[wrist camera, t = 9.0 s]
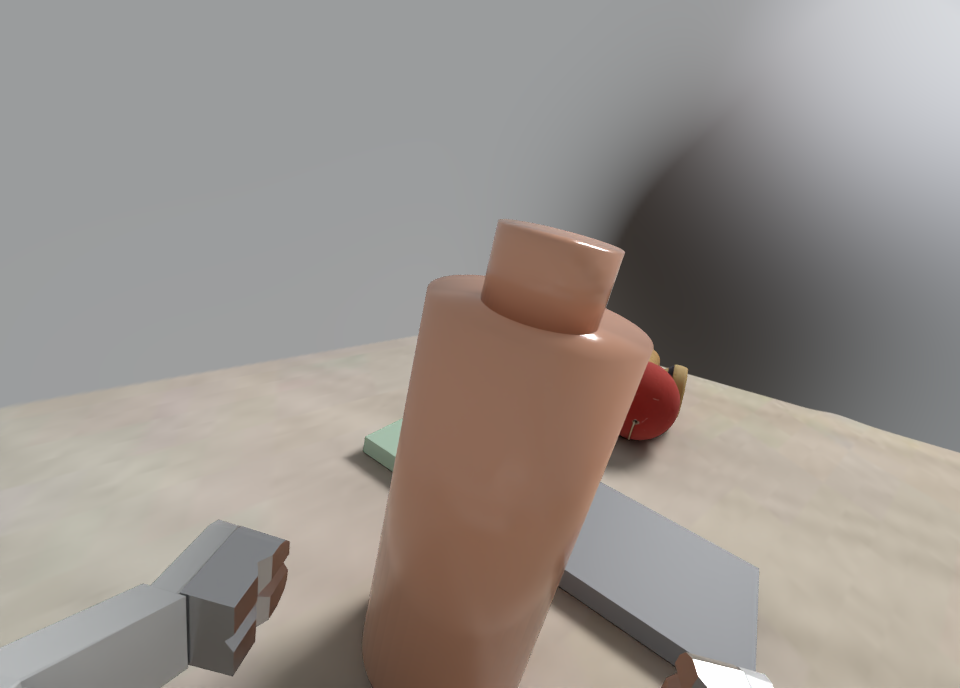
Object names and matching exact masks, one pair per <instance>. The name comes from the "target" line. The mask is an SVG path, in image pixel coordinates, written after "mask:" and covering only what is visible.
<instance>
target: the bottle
mask: <svg viewBox="0 0 960 688" xmlns="http://www.w3.org/2000/svg"><path fill="white" fill-rule="evenodd" d="M624 253H625V252H624V251H623V250H621V249H620V248H617V247H615V246H613V245H610V244H608V243H605V242H602V241H599V240H595V239H593V238H589V237H586V236H583V235H579V234H575V233H572V232H568V231H564V230H561V229H557V228H552V227H548V226H544V225H539V224H534V223H529V222H523V221H517V220H509V219H500V220H498V224H497V228H496V232H495V237H494V241H493V245H492V250H491V254H490V258H489V263H488V267H487V271H486V275H485V276H481V275H452V276H445V277H441V278H438V279H435V280H433V281H432V282H431V283H430V284H429V285H428V287H427V292H426V297H425V303H424V308H423V313H422V319H421V324H420V329H419V335H418V340H417V345H416V351H415V356H414V361H413V367H412V372H411V377H410V383H409V388H408V393H407V399H406V404H405V410H404V415H403V420H402V426H401V431H400V436H399V442H398V447H397V452H396V458H395V463H394V468H393V474H392V479H391V484H390V490H389V495H388V500H387V506H386V511H385V516H384V522H383V527H382V532H381V538H380V543H379V548H378V554H377V559H376V565H375V570H374V575H373V581H372V586H371V591H370V597H369V602H368V607H367V613H366V618H365V623H364V629H363V636H362V655H363V661H364V666H365V669H366V673H367V676H368V678H369V680H370V683H371V685H372V687H373V688H518V686H519V683H520V681H521V678H522V676H523V673H524V671H525V668H526V666H527V663H528V661H529V658H530V656H531V653H532V651H533V648H534V646H535V643H536V641H537V638H538V636H539V633H540V631H541V628H542V626H543V623H544V621H545V618H546V616H547V613H548V611H549V608H550V606H551V603H552V601H553V598H554V596H555V593H556V591H557V588H558V586H559V583H560V581H561V578H562V576H563V573H564V571H565V568H566V566H567V563H568V561H569V558H570V556H571V553H572V551H573V548H574V546H575V543H576V541H577V538H578V536H579V533H580V531H581V528H582V526H583V523H584V521H585V518H586V516H587V513H588V511H589V508H590V506H591V504H592V501H593V499H594V496H595V494H596V491H597V489H598V486H599V484H600V481H601V479H602V476H603V474H604V471H605V469H606V466H607V464H608V461H609V459H610V456H611V454H612V451H613V449H614V446H615V444H616V441H617V439H618V436H619V434H620V431H621V429H622V426H623V424H624V421H625V419H626V416H627V414H628V411H629V409H630V406H631V404H632V401H633V399H634V396H635V394H636V391H637V389H638V386H639V384H640V381H641V379H642V376H643V374H644V371H645V369H646V366H647V364H648V361H649V359H650V356H651V354H652V351H653V343H652V341H651V339H650V338H649V337H648V335H647V334H646V333H645V332H644V331H643V330H641V329H640V328H639V327H637V326H636V325H635V324H633V323H632V322H630V321H628V320H627V319H625V318H623V317H622V316H620V315H618V314H616V313H614V312H612V311H610V310H608V309H606V305H607V303H608V299H609V297H610V294H611V291H612V288H613V285H614V282H615V279H616V276H617V274H618V271H619V267H620V265H621V262H622V259H623V256H624Z"/></svg>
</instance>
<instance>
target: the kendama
mask: <svg viewBox="0 0 960 688" xmlns="http://www.w3.org/2000/svg"><path fill="white" fill-rule="evenodd" d="M659 364H660V358H659V355H658V354H657V352H656V351H654V350H653V351H652V354H651V356H650V359H649V361H648V364H647V366H646V369H645V371H644V374H643V376H642V379H641V381H640V384H639V386H638V389H637V391H636V394H635V396H634V399H633V401H632V404H631V406H630V409H629V411H628V414H627V416H626V419H625V421H624V424H623V426H622V429H621V431H620V434H619V435H620V436H622V437H625V438H627V439H628V440H630V439H632V440H647V439H652V438H655V437H657V436H659V435H661V434H663V433H664V432H665V431H667V430H668V429H669V428H670V427H671V426H672V424H673V423H674V421H675V420H676V418H677V417H678V414H679V411H680V407H681V404H682V399H683V395H684V391H685V385H686V381H687V373H688V372H687V371H688V369H687V368H686V367H683V366H680V365H673V366H672V367H669V368H667V369H663V368H662V367H660V366H659Z"/></svg>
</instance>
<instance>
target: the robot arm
mask: <svg viewBox="0 0 960 688" xmlns="http://www.w3.org/2000/svg"><path fill="white" fill-rule="evenodd" d="M289 545H290V542H289V541H287V540H284V539H281V538H278V537H274V536H271V535H268V534H265V533H262V532H258V531H255V530H252V529H249V528H246V527H243V526H239V525H235V524H232V523H229V522H225V521H222V520H217V521H215V522H213V523H212V524H210V525H209V526H208V527H207V528H206V529H205V530H204V531H203V532H202V533H201V534H200V535H199V536H198V537H197V538H196V539H195V540H194V541H193V542H192V543H191V544H190V545H189V546H188V547H187V548H186V549H185V550H184V551H183V552H182V553H181V554H180V555H179V557H178V558H177V559H176V560H175V561H174V562H173V563H172V564H171V565H170V566H169V567H168V568H167V569H166V570H165V571H164V572H163V573H162V574H161V575H160V576H159V577H158V578H157V579H156V580H155V581H154V582H153V583H152V584H151V585H147V584H141V585H138V586H136V587H134V588H132V589H129V590H127V591H125V592H123V593H121V594H118V595H116V596H114V597H112V598H109V599H107V600H105V601H103V602H101V603H98V604H96V605H94V606H92V607H89V608H87V609H85V610H83V611H81V612H78V613H76V614H74V615H72V616H69V617H67V618H65V619H63V620H61V621H58V622H56V623H54V624H52V625H49V626H47V627H45V628H43V629H41V630H38V631H36V632H34V633H32V634H30V635H27V636H25V637H23V638H21V639H18V640H16V641H14V642H12V643H10V644H7V645H5V646H3V647H1V648H0V688H161V687H162V686H164V685H165V684H166V683H168V682H169V681H171V680H172V679H173V678H175V677H176V676H178V675H179V674H180V673H182V672H183V671H185V670H186V669H187V668H188V665H191V666H195V667H199V668H202V669H206V670H210V671H214V672H218V673H222V674H225V675H229V676H233V675H234V674H235V672H236V671H237V669H238V668H239V666H240V664H241V663H242V661H243V660H244V658H245V656H246V655H247V653H248V652H249V650H250V649H251V647H252V645H253V644H254V642H255V634H256V627H257V626H259V625H260V624H262V623H264V622H265V621H267V620H269V618H270V616H271V615H272V613H273V611H274V610H275V608H276V607H277V605H278V602H279V600H280V598H281V596H282V593H283V591H284V588H285V584H286V580H287V573H288V569H287V568H286V566H285V564H284V563H283V562H284V561H285V559H286V558H287V556H288V555H289ZM675 666H676V669H677V673H676V674H674V675H671V676H669V677H667V678H666V679H665V681H664V683H663V685H662V687H661V688H774V687H773V685H772V683H771V681H770V680H769V679H768V678H767V676H766V675H765V674H763V673H759V672H756V671H752V670H748V669H745V668H741V667H737V666H735V665H733V664H729V663H725V662H721V661H718V660H714V659H710V658H706V657H703V656H699V655H695V654H691V653H688V652H685V653H683V654H680V655H679V657H678V659H677V660H676V662H675Z"/></svg>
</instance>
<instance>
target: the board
mask: <svg viewBox="0 0 960 688" xmlns="http://www.w3.org/2000/svg"><path fill="white" fill-rule="evenodd" d="M402 420H403V418H402V419H400V420H398V421H396V422H394V423H392V424H390V425H388V426H386V427H384V428H382V429H380V430H378V431H376V432H374V433H372V434H370V435H368V436H366V437H365V442H364V448H363V452H365V453H366V454H368V455H369V456H371V457H372V458H373V459H375V460H376V461H378V462H379V463H381V464H382V465H384V466H385V467H386V468H388V469H389V470H391V471H392V472H393V468H394V463H395V458H396V452H397V447H398V442H399V436H400V431H401V426H402ZM758 586H759V568H757V567H755V566H753V565H752V564H750V563H748V562H746V561H744V560H742V559H741V558H739V557H737V556H735V555H733V554H731V553H730V552H728V551H726V550H724V549H722V548H720V547H719V546H717V545H715V544H713V543H711V542H710V541H708V540H706V539H704V538H702V537H700V536H699V535H697V534H695V533H693V532H691V531H689V530H688V529H686V528H684V527H682V526H680V525H678V524H677V523H675V522H673V521H671V520H669V519H667V518H666V517H664V516H662V515H660V514H658V513H657V512H655V511H653V510H651V509H649V508H647V507H646V506H644V505H642V504H640V503H638V502H636V501H635V500H633V499H631V498H629V497H627V496H625V495H624V494H622V493H620V492H618V491H616V490H615V489H613V488H611V487H609V486H607V485H605V484H604V483H602V482H600V484H599V486H598V489H597V491H596V494H595V496H594V499H593V501H592V504H591V506H590V508H589V511H588V513H587V516H586V518H585V521H584V523H583V526H582V528H581V531H580V533H579V536H578V538H577V541H576V543H575V546H574V548H573V551H572V553H571V556H570V558H569V561H568V563H567V566H566V568H565V571H564V573H563V576H562V578H561V581H560V583H559V587H561V588H562V589H564V590H565V591H567V592H568V593H569V594H571V595H572V596H574V597H575V598H577V599H578V600H580V601H581V602H582V603H584V604H585V605H587V606H588V607H590V608H591V609H593V610H594V611H596V612H597V613H598V614H600V615H601V616H603V617H604V618H606V619H607V620H609V621H610V622H612V623H613V624H614V625H616V626H617V627H619V628H620V629H622V630H623V631H625V632H626V633H627V634H629V635H630V636H632V637H633V638H635V639H636V640H638V641H639V642H641V643H642V644H643V645H645V646H646V647H648V648H649V649H651V650H652V651H654V652H655V653H657V654H658V655H659V656H661V657H662V658H664V659H665V660H667V661H668V662H670V663H671V664H673V665H674V666H675V662H676V660H677V659H678V657H679V655H680V654H683V653H685V652H688V653H691V654H695V655H699V656H703V657H706V658H710V659H714V660H718V661H721V662H725V663H729V664H733V665H735V666H737V667H741V668H745V669H748V670H752V671H756V645H757V616H758ZM675 667H676V666H675Z"/></svg>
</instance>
